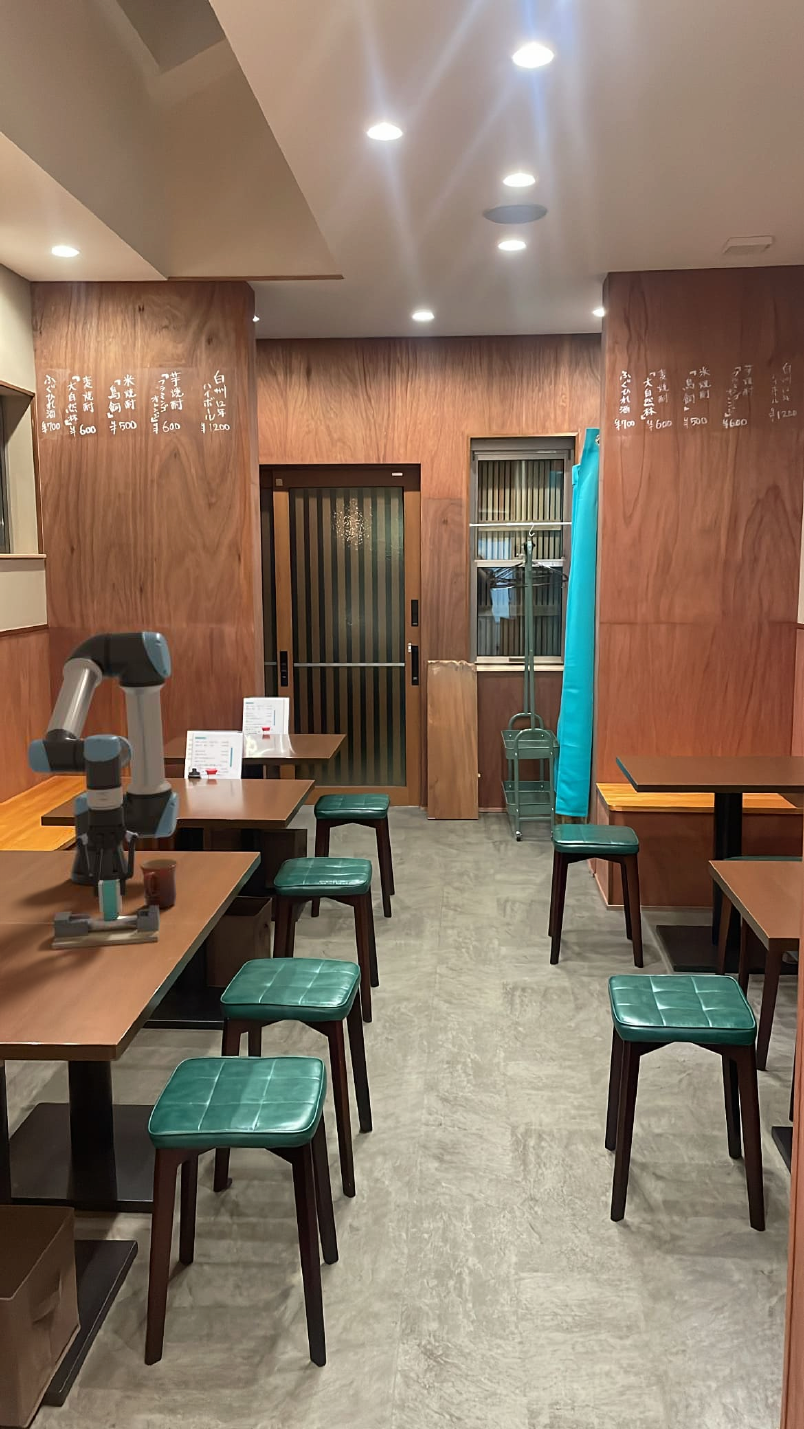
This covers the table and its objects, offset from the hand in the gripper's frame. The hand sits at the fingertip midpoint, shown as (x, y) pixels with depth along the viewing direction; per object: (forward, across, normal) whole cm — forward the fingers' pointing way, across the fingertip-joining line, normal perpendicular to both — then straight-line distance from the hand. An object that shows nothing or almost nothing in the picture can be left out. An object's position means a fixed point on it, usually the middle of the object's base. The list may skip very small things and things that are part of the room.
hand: (111, 910), depth 236 cm
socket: (+5, +8, 0) cm, 9 cm away
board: (+6, -1, 0) cm, 6 cm away
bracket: (+5, -8, 0) cm, 9 cm away
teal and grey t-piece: (+4, -2, 0) cm, 5 cm away
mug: (+6, +9, +18) cm, 21 cm away
